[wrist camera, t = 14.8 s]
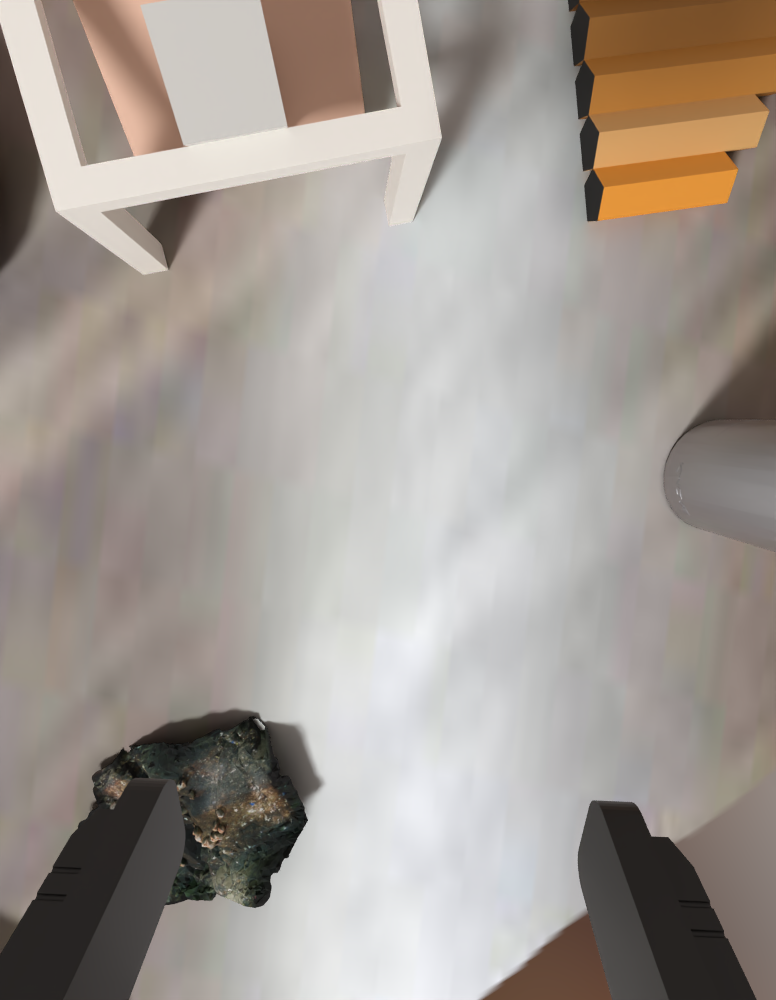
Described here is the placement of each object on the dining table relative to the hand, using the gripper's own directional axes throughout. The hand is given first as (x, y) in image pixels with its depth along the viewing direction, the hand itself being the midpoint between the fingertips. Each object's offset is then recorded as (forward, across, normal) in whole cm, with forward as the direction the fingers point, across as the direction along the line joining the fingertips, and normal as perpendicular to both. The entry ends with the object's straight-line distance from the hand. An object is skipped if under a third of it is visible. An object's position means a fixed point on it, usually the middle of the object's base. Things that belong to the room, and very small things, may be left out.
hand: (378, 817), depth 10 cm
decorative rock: (+24, +17, +33) cm, 44 cm away
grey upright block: (+32, +11, -19) cm, 39 cm away
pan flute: (+45, -24, -26) cm, 57 cm away
